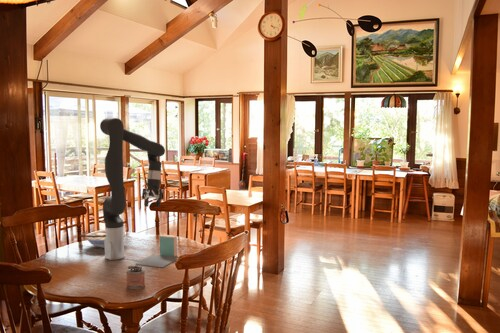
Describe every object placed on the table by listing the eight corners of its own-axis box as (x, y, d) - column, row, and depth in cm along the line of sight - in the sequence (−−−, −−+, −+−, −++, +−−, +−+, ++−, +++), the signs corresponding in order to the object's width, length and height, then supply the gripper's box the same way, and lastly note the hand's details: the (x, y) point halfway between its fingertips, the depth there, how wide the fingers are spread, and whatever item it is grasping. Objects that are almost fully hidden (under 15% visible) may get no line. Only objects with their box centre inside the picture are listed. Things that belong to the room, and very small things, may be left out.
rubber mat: (162, 268, 203) (162, 267, 203) (135, 264, 208) (135, 263, 208) (178, 258, 218) (178, 257, 218) (153, 255, 223) (153, 254, 223)
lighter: (145, 285, 181) (145, 264, 180) (144, 288, 177) (143, 266, 176) (127, 285, 180) (127, 264, 179) (125, 288, 177) (125, 266, 176)
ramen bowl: (134, 241, 249) (134, 228, 248) (118, 253, 226) (118, 238, 226) (95, 240, 252) (95, 227, 251) (76, 251, 229) (75, 237, 228)
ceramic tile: (173, 257, 220) (173, 237, 219) (159, 255, 223) (159, 236, 222) (177, 255, 223) (176, 235, 222) (162, 253, 226) (162, 234, 225)
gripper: (140, 178, 233) (138, 206, 232) (159, 178, 226) (156, 207, 225) (149, 179, 240) (147, 206, 238) (167, 179, 233) (165, 207, 231)
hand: (151, 206), depth 231 cm, fingers open, 8 cm apart
